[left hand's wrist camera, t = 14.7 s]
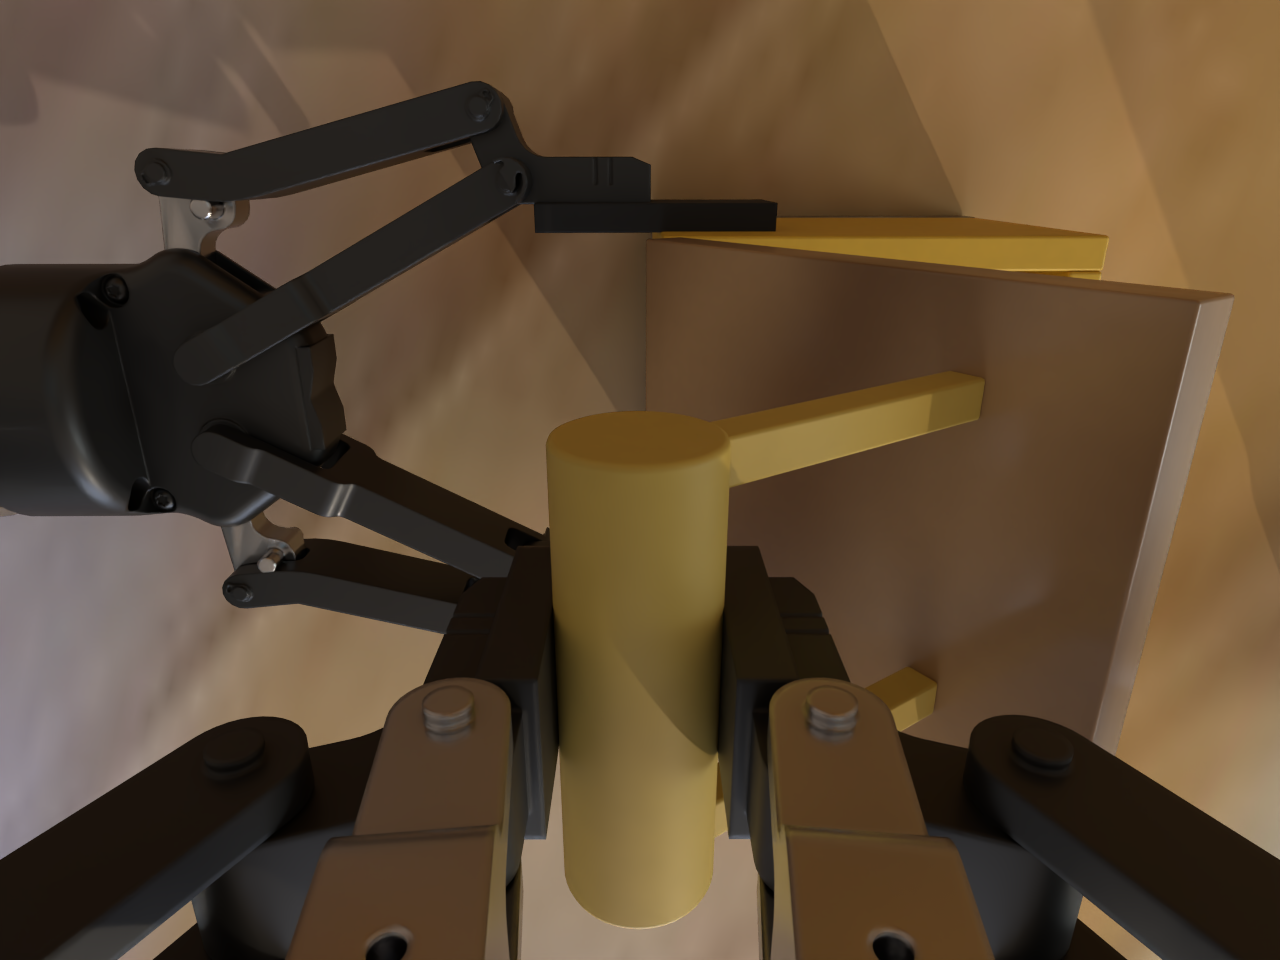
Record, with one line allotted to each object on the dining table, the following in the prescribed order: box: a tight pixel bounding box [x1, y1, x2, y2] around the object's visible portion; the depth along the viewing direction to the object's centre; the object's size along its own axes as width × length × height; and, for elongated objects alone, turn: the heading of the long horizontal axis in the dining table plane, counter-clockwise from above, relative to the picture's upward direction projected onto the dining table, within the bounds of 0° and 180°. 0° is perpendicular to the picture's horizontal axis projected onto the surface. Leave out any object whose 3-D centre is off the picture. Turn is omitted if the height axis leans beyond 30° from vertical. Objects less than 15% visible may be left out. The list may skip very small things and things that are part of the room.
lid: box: [546, 237, 1234, 929], centre depth 15 cm, size 12×10×9 cm
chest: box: [651, 216, 1109, 280], centre depth 26 cm, size 11×10×10 cm
